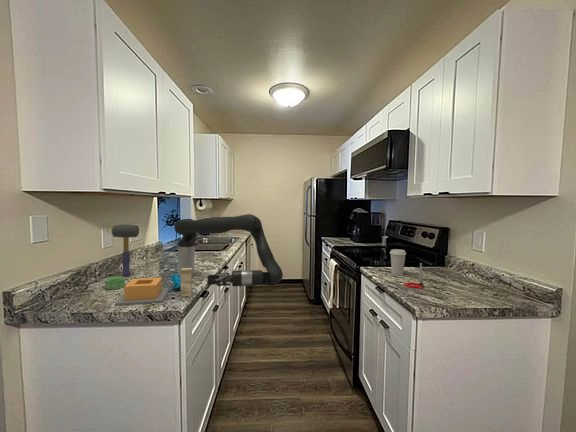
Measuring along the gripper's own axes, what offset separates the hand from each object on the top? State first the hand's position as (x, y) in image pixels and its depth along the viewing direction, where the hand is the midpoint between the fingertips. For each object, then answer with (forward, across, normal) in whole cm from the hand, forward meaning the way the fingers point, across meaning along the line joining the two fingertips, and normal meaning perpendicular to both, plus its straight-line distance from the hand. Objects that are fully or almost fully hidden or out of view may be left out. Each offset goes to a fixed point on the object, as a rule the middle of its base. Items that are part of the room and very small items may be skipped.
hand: (207, 279), depth 132 cm
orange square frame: (+28, 0, +6) cm, 28 cm away
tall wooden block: (+10, 0, +6) cm, 12 cm away
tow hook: (-106, +10, +6) cm, 107 cm away
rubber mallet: (+46, -40, +7) cm, 62 cm away
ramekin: (+45, -19, +7) cm, 50 cm away
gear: (+14, -10, +7) cm, 18 cm away
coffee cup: (-114, -14, +6) cm, 115 cm away
